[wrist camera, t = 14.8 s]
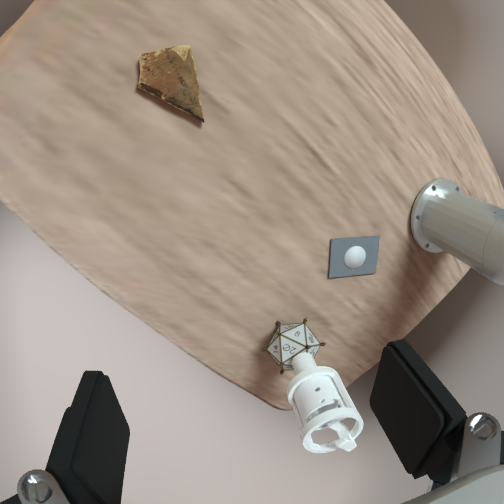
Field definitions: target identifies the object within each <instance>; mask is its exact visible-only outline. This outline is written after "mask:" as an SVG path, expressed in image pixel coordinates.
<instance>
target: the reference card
mask: <svg viewBox="0 0 504 504" xmlns="http://www.w3.org/2000/svg"><path fill="white" fill-rule="evenodd" d="M379 238H380V237H379V236H371V237H355V238H340V239H331V245H330V261H329V275H328V277H329V278H334V277H343V276H353V275H362V274H371V273H376V265H377V257H378V248H379Z"/></svg>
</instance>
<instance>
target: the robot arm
mask: <svg viewBox="0 0 504 504" xmlns="http://www.w3.org/2000/svg"><path fill="white" fill-rule="evenodd" d="M411 229H412V234H413V237H414V239H415V241H416V242H417V244H418V245H419V246H420V247H421V248H423V249H424V250H426V251H428V252H431V253H440V252H443V251H446V252H447V253H449V254H451V255H452V256H454V257H456V258H457V259H459V260H461V261H462V262H464V263H465V264H467V265H469V266H470V267H472V268H474V269H475V270H477V271H478V272H480V273H481V274H483V275H485V276H486V277H488V278H489V279H491V280H492V281H494V282H496V283H498V284H500V285H504V209H503V208H500V207H498V206H495V205H492V204H490V203H487V202H484V201H481V200H479V199H476V198H473V197H470V196H467V195H465V194H464V192H463V190H462V189H461V187H460V186H459V185H458V184H457V183H455V182H453V181H451V180H448V179H436V180H434V181H431V182H430V183H428V184H427V185H426V186H425V187H424V188H423V189H422V190H421V191H420V193H419V194H418V196H417V198H416V200H415V202H414V205H413V209H412V214H411ZM370 406H371V409H372V410H373V412H374V414H375V416H376V417H377V419H378V421H379V422H380V425H381V426H382V428H383V430H384V432H385V433H386V435H387V437H388V439H389V441H390V442H391V444H392V446H393V448H394V450H395V451H396V453H397V455H398V457H399V459H400V461H401V462H402V464H403V466H404V468H405V470H406V471H407V472H408V473H409V474H412V475H413V477H414V479H417V478H419V477H422V476H424V475H426V474H428V476H429V478H430V482H429V485H428V489H427V492H426V494H423V495H421V496H419V497H416V498H414V499H411V500H409V501H407V502H404V503H402V504H504V431H501V427H500V424H499V422H498V420H497V419H496V418H495V417H493V416H492V415H490V414H487V413H484V412H478V413H474V414H472V415H471V416H469V417H467V416H466V412H465V411H464V409H463V408H462V407H461V406H460V405H459V403H458V402H457V401H456V399H454V397H453V396H452V395H451V393H450V392H449V391H448V390H447V388H446V387H445V386H444V385H443V384H442V382H441V381H440V380H439V379H438V378H437V376H436V375H435V374H434V373H433V372H432V371H431V369H430V368H429V367H428V366H427V365H426V363H425V362H424V361H423V360H422V359H421V358H420V356H419V355H418V354H417V353H416V352H415V351H414V349H413V348H412V347H411V346H410V345H409V344H408V342H407V341H406V340H404V339H401V340H396V341H392V342H389V343H388V344H387V346H386V347H384V349H383V352H382V356H381V360H380V364H379V368H378V372H377V375H376V379H375V383H374V386H373V390H372V393H371V397H370ZM129 437H130V429H129V426H128V423H127V421H126V419H125V416H124V414H123V412H122V409H121V407H120V405H119V402H118V400H117V397H116V395H115V392H114V390H113V387H112V384H111V382H110V379H109V377H108V376H107V375H104V374H103V372H102V371H85V372H84V373H83V376H82V378H81V381H80V384H79V386H78V389H77V391H76V394H75V396H74V399H73V402H72V405H71V407H68V408H67V409H66V411H65V413H64V415H63V418H62V421H61V424H60V426H59V429H58V432H57V435H56V438H55V441H54V444H53V447H52V450H51V453H50V456H49V460H48V463H47V466H46V469H45V471H44V470H36V469H35V470H31V471H28V472H27V473H25V474H24V475H23V476H22V477H21V478H20V480H19V482H18V486H17V492H18V494H16V495H14V496H12V497H11V498H9V499H7V500H5V501H3V502H1V503H0V504H121V495H122V487H123V479H124V471H125V464H126V456H127V450H128V443H129Z"/></svg>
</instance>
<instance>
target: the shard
mask: <svg viewBox="0 0 504 504" xmlns="http://www.w3.org/2000/svg"><path fill="white" fill-rule="evenodd" d="M139 62H140V78H139V82H138V84H137V88H139V89H142V90H144V91H146V92H148V93H150V94H152V95H154V96H156V97H158V98H160V99H161V100H163V101H165V102H167V103H168V104H170V105H172V106H174V107H176V108H177V109H179V110H182V111H184V112H185V113H188V114H190V115H192V116H194V117H195V118H196V119H198V120H200V121H201V122H204V116H203V111H202V107H201V103H200V98H199V87H198V81H197V73H196V70H195V64H194V59H193V56H192V55H191V48H190V46H189V45H183V46H174V47H170V48H165V49H163V50H157V51H154V52H147V53H143V54H141V55H139Z"/></svg>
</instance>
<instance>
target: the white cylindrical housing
mask: <svg viewBox="0 0 504 504" xmlns="http://www.w3.org/2000/svg"><path fill="white" fill-rule="evenodd" d="M292 366H293V368H294V371H295V373H296V376H295V377H294V378H293V379H292V380H291V382H290V383H289V385H288V387H287V397H288V400H289V403H290V405H291V406H292V407H293V409H294V412H295V415H296V418H297V421H298V424H299V427H300V430H301V440H302V443H303V446H304V448H305V449H306V450H308V451H310V452H313V453H325V452H330V451H334V450H337V449H339V448H341V449H344V450H346V451H348V452H349V451H351V450H352V449H354V448H355V447H357V445H356V443H355V441H354V439H355V438H356V437H357V436H358V435H359V434H360V432H361V431H362V429H363V424H364V423H363V420H362V418H361V416H360V414H359V413H358V411H357V409H356V407H355V406H354V404H353V402H352V400H351V398H350V396H349V394H348V392H347V390H346V388H345V387H344V385H343V383H342V380H341V378H340V376H339V375H338V373H337V372H336V371H335V370H334V369H332V368H330V367H325V366H319V367H317V365H316V363H315V361H314V359H313V356H312V355H311V354H310V353H307V352H303V353H300V354H298V355H296V356H295V357H294V358H293V360H292ZM292 396H294V399H293V398H292ZM338 403H339V404H340V406H341V408H338ZM346 417H349V418H354V419H356V423H355V425H354V427H353V428H352V429H351V430H350V431H349V428H348V426H347V425H345V424H343V423H342V422H340V421H342V420H344V419H345V418H346ZM326 428H331V429H333V430H335V431H337V433H338V436H339V439H338V440H335V441H333V442H329V443H324V444H321V445H318V444H314V443H313V440H312V437H311V433H312V432H313V431H314V430H322V429H326Z"/></svg>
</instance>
